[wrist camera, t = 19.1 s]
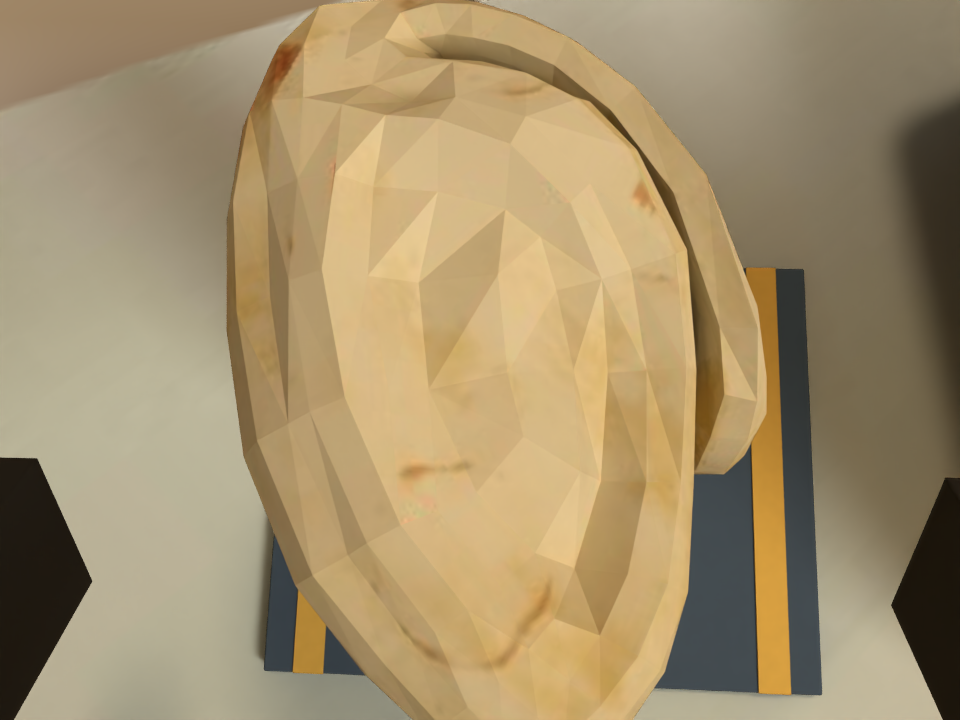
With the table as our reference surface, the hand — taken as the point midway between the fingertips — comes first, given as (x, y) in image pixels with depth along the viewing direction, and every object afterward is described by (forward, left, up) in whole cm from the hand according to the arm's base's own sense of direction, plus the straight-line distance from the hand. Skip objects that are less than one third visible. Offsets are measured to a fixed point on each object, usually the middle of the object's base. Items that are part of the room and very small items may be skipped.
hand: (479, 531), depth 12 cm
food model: (0, +2, -15) cm, 15 cm away
